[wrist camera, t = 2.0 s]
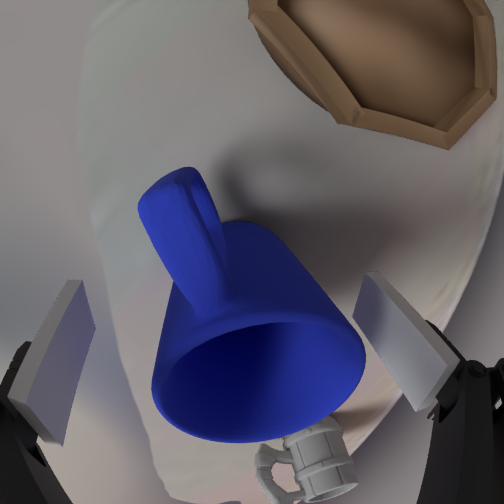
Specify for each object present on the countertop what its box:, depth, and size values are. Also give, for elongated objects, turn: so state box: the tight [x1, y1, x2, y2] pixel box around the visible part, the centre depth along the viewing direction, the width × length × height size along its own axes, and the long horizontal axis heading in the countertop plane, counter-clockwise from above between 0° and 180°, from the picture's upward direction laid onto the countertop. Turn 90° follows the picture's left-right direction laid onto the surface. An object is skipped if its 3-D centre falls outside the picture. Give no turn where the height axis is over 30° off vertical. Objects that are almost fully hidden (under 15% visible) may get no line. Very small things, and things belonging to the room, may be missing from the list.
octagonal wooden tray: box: [248, 0, 497, 150], centre depth 10 cm, size 17×17×4 cm
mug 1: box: [138, 167, 366, 443], centre depth 13 cm, size 8×12×10 cm
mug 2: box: [254, 416, 358, 504], centre depth 26 cm, size 8×12×12 cm, turn 84°
